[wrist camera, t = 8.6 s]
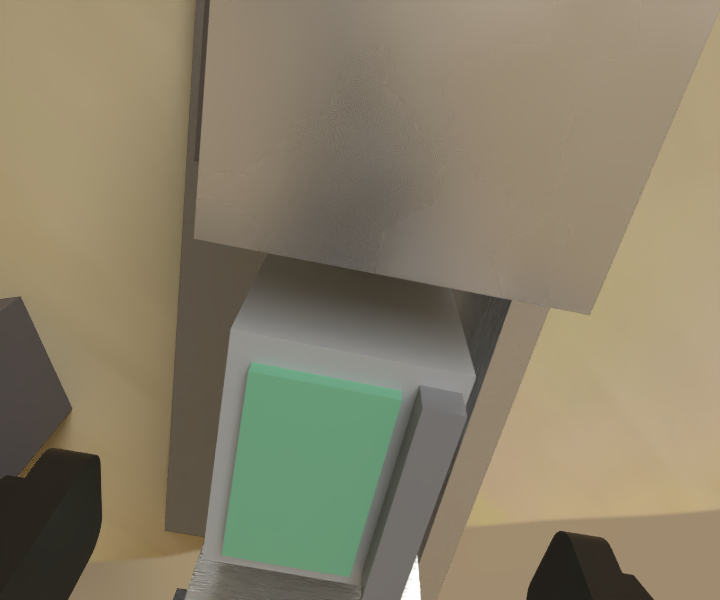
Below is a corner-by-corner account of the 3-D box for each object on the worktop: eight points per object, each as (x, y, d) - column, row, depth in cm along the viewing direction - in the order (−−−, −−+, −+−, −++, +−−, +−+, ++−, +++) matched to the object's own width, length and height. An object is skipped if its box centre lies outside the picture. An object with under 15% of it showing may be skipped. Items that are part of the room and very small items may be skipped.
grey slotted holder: (220, -178, 14) (-73, -561, 5) (636, -80, 15) (1063, -258, 6) (174, 508, 24) (51, 795, 15) (419, 548, 25) (442, 847, 16)
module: (292, 202, 17) (220, 349, 9) (435, 232, 17) (482, 399, 10) (266, 365, 20) (193, 587, 12) (391, 389, 20) (399, 621, 12)
